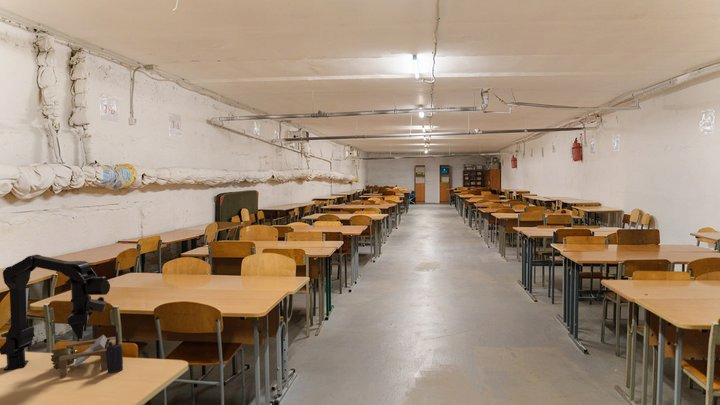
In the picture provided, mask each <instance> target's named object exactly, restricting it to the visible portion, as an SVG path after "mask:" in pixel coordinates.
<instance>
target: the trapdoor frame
mask: <svg viewBox="0 0 720 405" xmlns="http://www.w3.org/2000/svg"><path fill="white" fill-rule="evenodd" d="M106 338H107V341H106V344H105V347H104V349H102V350H96V351H90V352H84V351H82V352H83V353H82V352H79V353H77V354H70V355H64V356H60V357H59V368H60V369H59V378H60V379H62V378H63V379H65V378H67V377H68V376H69V375H68V365H67V359H73V358H79V357H86V356H90V357H92V356H98V355H100V356H99V357H100V358H99V359H100V371H101V372H104V371H107V358H106V350H107V347H108V346H109V342H112V345H114V344H116V336H111V337H106ZM95 342H96V339H90V340H83V341H75V342H69V343H68V342H67V344H66V347H65V348H70V349H72V350H74V348H75V347H81V346H87V345H93V344H95ZM71 364H75V360H74V361H73V362H72V363H71Z"/></svg>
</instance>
